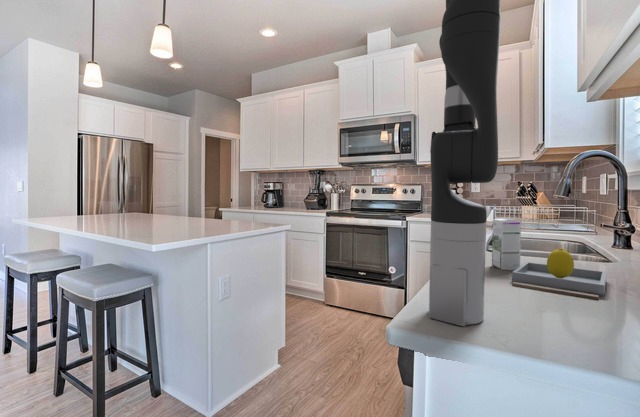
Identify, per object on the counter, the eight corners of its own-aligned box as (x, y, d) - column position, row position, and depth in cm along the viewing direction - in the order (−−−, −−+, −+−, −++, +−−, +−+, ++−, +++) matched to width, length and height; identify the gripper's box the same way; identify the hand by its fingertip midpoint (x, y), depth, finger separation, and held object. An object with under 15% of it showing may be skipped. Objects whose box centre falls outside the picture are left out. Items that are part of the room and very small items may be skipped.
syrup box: (521, 270, 97) (522, 219, 96) (500, 270, 97) (501, 219, 97) (510, 265, 103) (511, 218, 102) (490, 265, 103) (492, 218, 102)
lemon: (578, 283, 82) (579, 250, 81) (552, 282, 83) (553, 249, 82) (566, 277, 87) (567, 246, 86) (542, 276, 88) (543, 246, 88)
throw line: (598, 299, 71) (598, 297, 71) (512, 285, 81) (512, 283, 81) (598, 298, 72) (598, 295, 72) (513, 284, 83) (513, 281, 83)
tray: (603, 296, 73) (604, 285, 73) (512, 281, 85) (512, 272, 84) (606, 281, 85) (606, 271, 85) (525, 270, 97) (526, 261, 97)
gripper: (427, 108, 89) (425, 170, 90) (485, 98, 79) (483, 168, 80) (438, 113, 94) (437, 171, 95) (494, 104, 85) (492, 169, 86)
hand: (458, 170), depth 88 cm, fingers open, 8 cm apart
